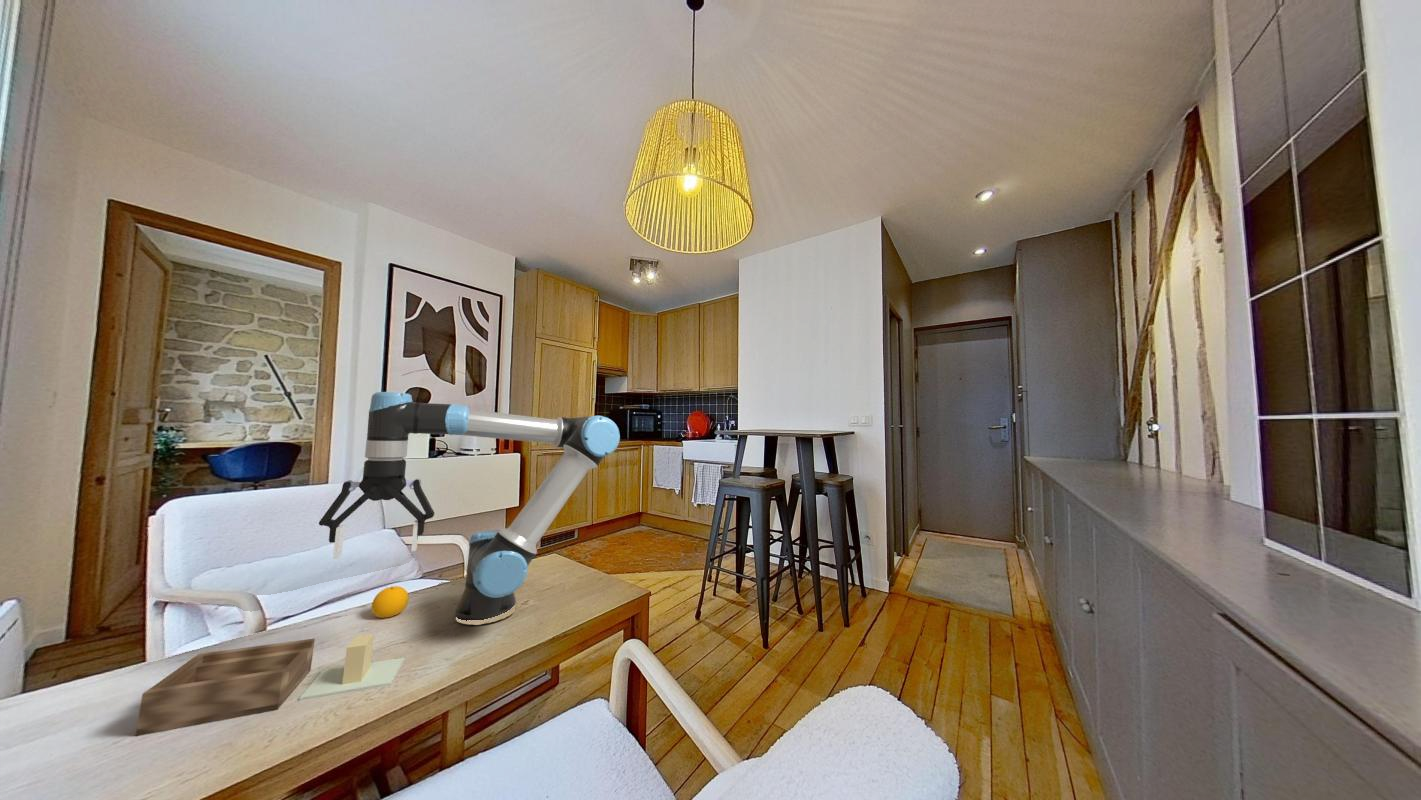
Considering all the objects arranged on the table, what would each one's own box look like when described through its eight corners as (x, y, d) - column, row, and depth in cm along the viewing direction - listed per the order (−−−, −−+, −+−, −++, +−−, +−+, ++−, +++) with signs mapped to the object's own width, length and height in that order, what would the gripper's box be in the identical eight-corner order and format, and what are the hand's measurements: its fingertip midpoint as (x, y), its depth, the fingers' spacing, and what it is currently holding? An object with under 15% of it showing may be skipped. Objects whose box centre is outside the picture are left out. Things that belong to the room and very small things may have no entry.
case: (310, 670, 84) (314, 638, 85) (277, 709, 72) (282, 671, 73) (192, 689, 77) (198, 653, 77) (135, 736, 65) (142, 693, 66)
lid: (404, 661, 90) (408, 625, 90) (390, 686, 81) (395, 646, 82) (323, 673, 84) (328, 634, 85) (298, 702, 75) (304, 659, 76)
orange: (410, 607, 115) (413, 580, 116) (402, 619, 108) (405, 590, 109) (376, 610, 112) (379, 583, 113) (365, 623, 105) (369, 593, 106)
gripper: (451, 457, 101) (444, 542, 100) (318, 458, 89) (308, 555, 87) (449, 459, 95) (441, 551, 93) (306, 460, 83) (294, 565, 81)
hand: (377, 553), depth 90 cm, fingers open, 13 cm apart
